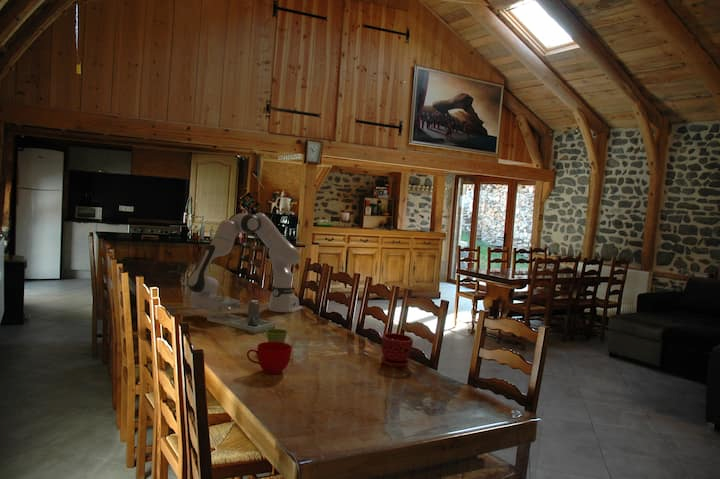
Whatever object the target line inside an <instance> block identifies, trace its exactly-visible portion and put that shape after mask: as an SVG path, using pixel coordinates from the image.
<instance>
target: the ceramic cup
mask: <svg viewBox="0 0 720 479" xmlns="http://www.w3.org/2000/svg"><path fill="white" fill-rule="evenodd" d="M292 349H293V348H292V345H290V344H289V343H286V342H284V343H281V342H268V341H266V342H264V341H263V342H261V343H258V344H257V350H256V349H255V348H254V349H249V350H248V351H247V352H246V358H247V360H249V362H251V363H253V364H257V365H259V366H260V368H261V369H262V370H263V372H264V371H265V372H266V373H265V372H264V373H265V374H268V373H271V374H270V375H278V374H277V373H279V374H282V372H283V371H285V369H286V368H287V366H288V365H289V362H290V359H291V354H292ZM251 352H254V353H255V354H256V355H257V359H258V361H257V360H253V359H251V357H250V356H249V354H250V353H251Z"/></svg>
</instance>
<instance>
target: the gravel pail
mask: <svg viewBox="0 0 720 479" xmlns="http://www.w3.org/2000/svg"><path fill="white" fill-rule="evenodd" d="M247 306H248V308H247V318H248V320H247V325H248V326H252V327H257V326H258V321H259V319H260V302H259V301H258V300H254V299H251V300H250V302H248V305H247Z"/></svg>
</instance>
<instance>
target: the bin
mask: <svg viewBox="0 0 720 479" xmlns="http://www.w3.org/2000/svg"><path fill="white" fill-rule="evenodd" d="M245 318H246V319H242V320H238V321H233V322H230V325H229V327H232V328H236V329H240V330H243V331H244V332H246V333H250V334H253V333H254V335H255V334H260V333H262V332H266V331H267V330H269V329H276V322H274V321H269V320H265V319H260V318H259V321H258V326H257V327H252V326H248V325H247V320H248V317H245Z"/></svg>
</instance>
